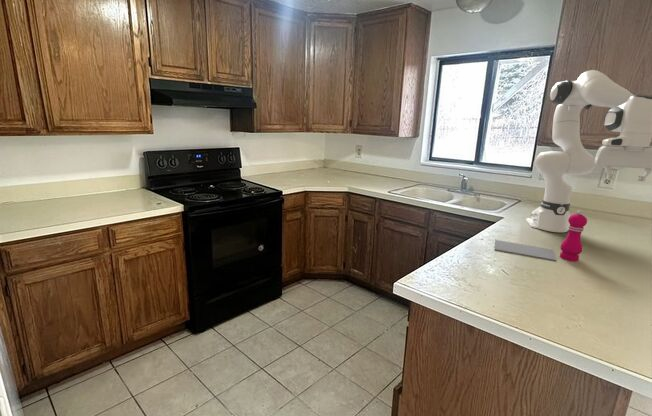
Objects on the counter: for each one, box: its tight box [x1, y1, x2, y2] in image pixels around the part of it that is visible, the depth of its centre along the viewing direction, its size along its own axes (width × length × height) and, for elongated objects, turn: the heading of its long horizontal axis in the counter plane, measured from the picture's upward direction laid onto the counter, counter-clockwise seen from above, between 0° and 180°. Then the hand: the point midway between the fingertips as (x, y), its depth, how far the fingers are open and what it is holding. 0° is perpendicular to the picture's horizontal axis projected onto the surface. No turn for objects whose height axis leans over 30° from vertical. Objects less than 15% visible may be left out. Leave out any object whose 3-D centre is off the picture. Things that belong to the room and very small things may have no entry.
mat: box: [494, 239, 557, 262], centre depth 147 cm, size 22×13×1 cm, turn 64°
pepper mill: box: [559, 210, 588, 263], centre depth 138 cm, size 7×7×20 cm
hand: (625, 179), depth 129 cm, fingers open, 8 cm apart
